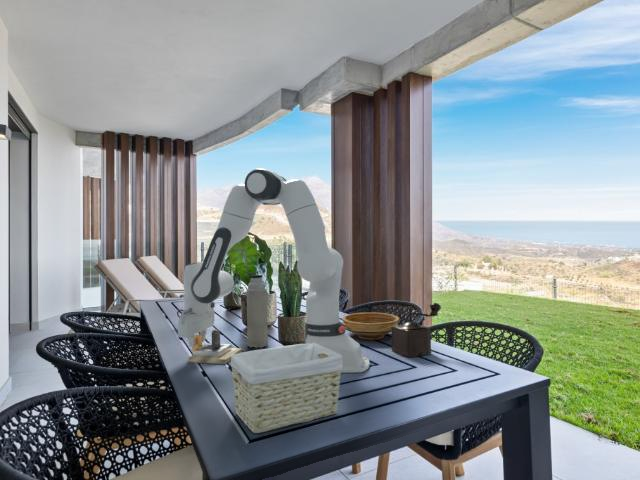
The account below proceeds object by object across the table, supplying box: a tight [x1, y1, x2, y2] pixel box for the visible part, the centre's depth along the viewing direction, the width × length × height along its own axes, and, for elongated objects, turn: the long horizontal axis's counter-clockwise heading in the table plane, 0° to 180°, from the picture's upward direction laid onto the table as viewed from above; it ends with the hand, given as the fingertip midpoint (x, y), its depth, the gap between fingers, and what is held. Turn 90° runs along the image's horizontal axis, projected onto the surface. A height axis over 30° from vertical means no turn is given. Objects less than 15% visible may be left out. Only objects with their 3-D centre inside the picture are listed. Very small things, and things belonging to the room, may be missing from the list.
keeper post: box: [188, 328, 243, 365], centre depth 149 cm, size 14×14×10 cm
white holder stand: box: [191, 334, 232, 357], centre depth 150 cm, size 12×10×6 cm
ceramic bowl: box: [341, 312, 400, 340], centre depth 176 cm, size 30×24×8 cm
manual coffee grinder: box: [391, 302, 442, 359], centre depth 152 cm, size 16×11×18 cm
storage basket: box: [230, 343, 343, 434], centre depth 100 cm, size 24×16×15 cm
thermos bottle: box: [246, 274, 269, 349], centre depth 165 cm, size 8×8×28 cm
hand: (197, 344), depth 151 cm, fingers open, 5 cm apart
